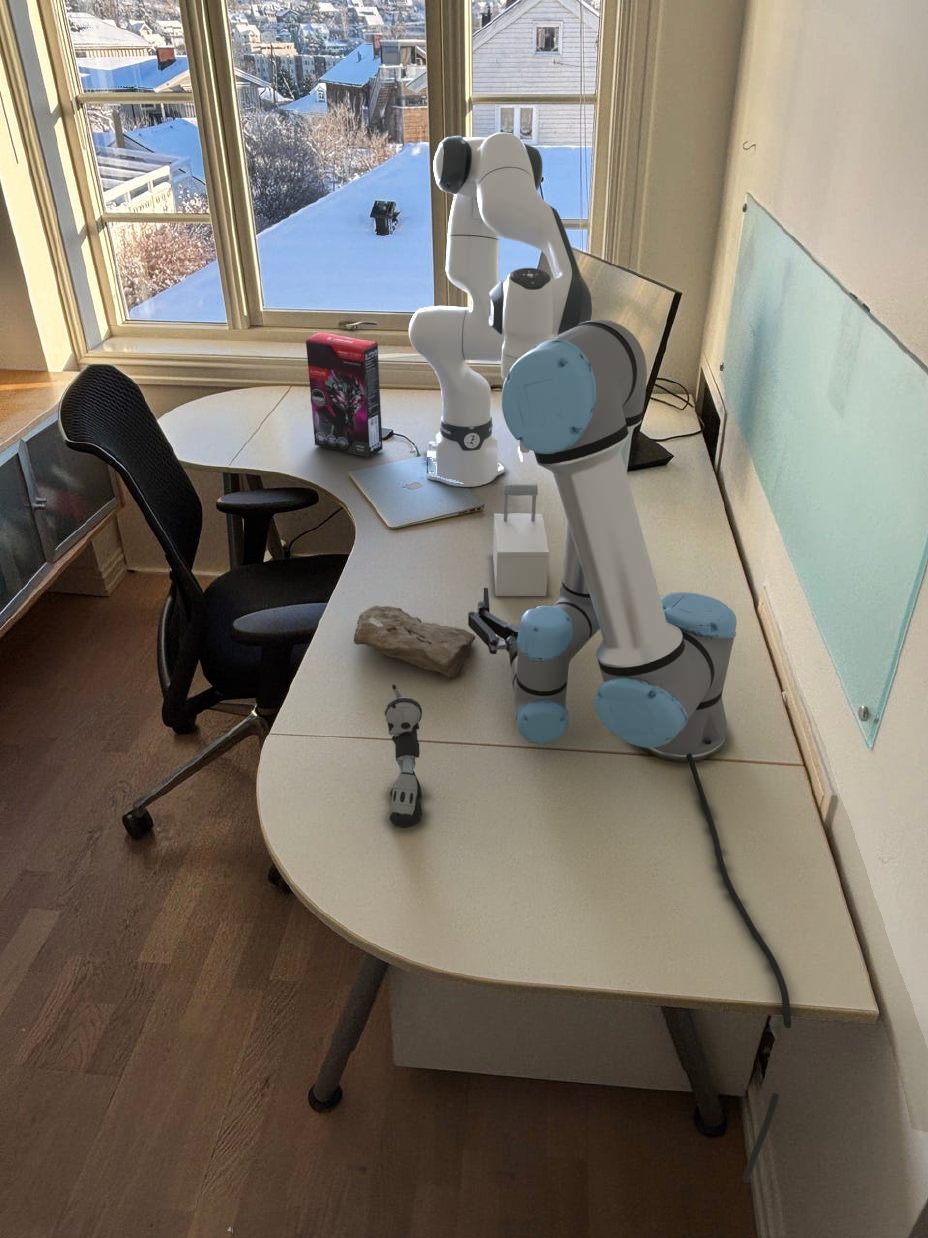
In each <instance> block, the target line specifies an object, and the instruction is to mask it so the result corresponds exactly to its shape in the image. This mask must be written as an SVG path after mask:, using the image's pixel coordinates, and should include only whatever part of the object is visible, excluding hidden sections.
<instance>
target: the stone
mask: <svg viewBox="0 0 928 1238" xmlns="http://www.w3.org/2000/svg"><path fill="white" fill-rule="evenodd" d="M356 624H357V626H356V629H355V633H354V635H353V642H354V644H355V645H357V646H358V645H365V646H369V647H370V648H371V649H372V650H373V652H376V653H377V654H382V655H386V656H387V657H391V658H394V659H399V660H401V661H404V662H406V663H410V664H411V665H414V666H417V667H419V668H420V669H423V670H425V671H433V672H438V673H440V674H442V675H443V677H446V678H447V677H448V678H449V679H450V678H454V677H457V675H458V674H459V673H460V671H461V669H462V667H463V662H464V658H466V656H467V654H468V652H469V650H470V649H471V647H472V644H473V642H474V641H476V638H477V637H476V636H475V634H473V633H472V632H470V631H467V629H464V628H460V627H454V626H448V625H447V626H446V625H441V624H438V623H435V622H433V623H431V622H424V621H422V620H421V619H420V618H419V617H417V616H415V617H414V616H412V615H411V614H409V613H408V612H405V611H404V610H403V609H402V608H401V607H396V606H391V605H385V606H382V605H381V606H380V605H374V606H372V607H369V608H368V609H366V610H364V611H363V612H361V613H360V614H359V616H358V619H357V623H356Z"/></svg>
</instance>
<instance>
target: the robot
mask: <svg viewBox="0 0 928 1238" xmlns="http://www.w3.org/2000/svg"><path fill="white" fill-rule="evenodd" d="M391 688H392V690H393V692H394V695H395V697H396V698H395V699H393V700H392V701H390V702H389V703H388V704H387V705H386V707H385V710H384V711H383V712H384V714H383V715H384V716H385V718H384V719H385V721H386V723H387V728H388V735H389V736H392V737H391V740H392V741H393V744H394V745H395V746H394V751H395V752H394V754H395V755H394V757H395V762H396V763H397V765H398V767H399V770H400V771H399V772H400V773H398V776H397V777H396V779H395V781H394V783H393V787H392V788H391V790H390V793H389V794H390V797H391V802H390V805H391V814H390V816H389V821H390V822H392V823H393V825H394V826H396V827H400V828H408V827H411V826H413V825H416V824H418V823H420V822H421V819H422V816H423V812H422V811H423V810H422V805H421V801H420V799H421V798H422V797H423V794H422V787H421V784H420V781H419V778H418V777H417V774H416V773H415V771H414V769H415V767H416V758H419V759H420V755H421V754H420V742H419V739H418V731H419V729H420V723H419V722H421V720H422V717H423V708H422V706H421V704H420V703H419V702H418V701H417V700H415V699H414V698H411V697H409V696H403V695H402V694H401V692H400V691H399V688H398V687H397V686H396V684H392V685H391Z"/></svg>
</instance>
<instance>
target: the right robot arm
mask: <svg viewBox="0 0 928 1238" xmlns="http://www.w3.org/2000/svg"><path fill="white" fill-rule="evenodd" d="M647 378H648V367H647V361H646V356H645V352H644V349H643V348H642V345H641V343H640V341H639V339H637V337H636V336H635V335H634V334H633V333H632V332H631V331H630V330H629V329H627V328H626V327H625V326H624V325H622V324H620V323H619V322H615V321H612V320H609V319H599V318H598V319H591V320H589V321H585V322H582V323H579V324H578V325H576V326H574V327H572V328H571V329H569V330H568V331H566V332H564V333H562V334H559V335H556V336H555V335H554V336H553V337H551V338H550V339H549V340H547V341H545V342H543V343H541V344H538V345H536V346H534V347H533V348H532V349H530V350H529V351H528V352H527V353H526V354H525V355H523V356H522V357H521V358H519V359H518V360H517V361H516V362H515V363H514V365H513V366H512V367H511V369H510V371H509V372H508V375H507V377H506V379H505V380H503V385H502V391H501V410H502V415H503V418H504V419H503V420H504V421H505V424H506V426H507V429H508V430H509V432H510V433H511V435H512V436H513V437H514V438H515V440H516V441H519V442H520V441H522V442H523V446H525V447H526V448H527V449H529V450H530V451H532V452H533V454H534V458H535V460H536V464H537V465H538V466H540V467H542V468H543V469H545V470H547V471H550V472H551V473H552V474H553V477H554V481H555V483H556V488H557V490H558V494H559V498H560V501H561V504H562V507H563V510H564V514H565V518H566V520H567V523H566V524H567V525H566V535H565V545H564V546H565V547H564V557H563V565H562V566H563V568H562V579H561V586H560V589H559V598H558V599H557V601H556V602H555V603H554V604H553V605H539V606H536V608H530V609H528V610H526V611H525V612H524V613H523V614H522V615H521V618H520V621H519V627H518V626H517V625H515V624H513V623H507V622H506V621H504V620H502V619H501V618H499V617H497V616H496V615H494V614H493V613H491V612H490V610H491V609H490V596H489V587H483V597H482V600H483V601H482V600H481V601H478V602H477V611H476V612H475V611H472V610H469V611H468V612H467V626H468V628H470V629H471V630H472V632H474V633H475V635H477V637H478V638H479V639H480V640H481V641H482V642H483V643H484V644H485V645H486V646H487V649H488V652H489V654H491V655H496V654H497V653H498V651H501V650H506V652H507V653H508V655H509V663H510V664H509V666H510V674H511V683H512V689H513V696H514V708H515V709H514V710H515V716H514V717H515V721H516V724H517V728H518V732H519V734H520V735H521V736H522V737H523V738H524V740H526V741H528V742H530V743H533V744H537V745H538V744H540V745H543V744H551V743H553V742H556V741H558V740H559V739H561V738H562V737H563V736H564V735H565V734H566V732H567V731H568V727H569V716H568V715H569V710H568V708H567V691H568V690H567V689H568V680H569V669H570V664H571V660H572V659H573V658H574V657H575V656H576V655H577V654H578V653H579V652H580V651H581V650H582V648H583V647H585V645H586V644H587V643H588V642H589V641H590V640H591V639H592V638H593V637H594V635H596V634H597V632H598V631H600V633H601V637H602V641H601V642H600V644H598V647H597V649H596V653H595V655H596V661H597V663H598V667H599V669H600V673H601V677H602V680H603V682H602V683H600V685H599V687H598V688H597V690H596V694H595V697H594V709H595V712H596V715H597V717H598V719H599V721H600V722H601V723H602V725H603V726H604V727H605V728H606V729H607V730H608V731H609V732H610V733H611V734H612V735H614V736H616V737H618V738H619V739H620V740H621V741H623V742H625V743H627V744H630V745H633V746H636V747H639V748H640V749H641V750H643V751H645V752H646V753H648V754H650V755H651V756H654V757H656V758H659V759H662V760H666V761H670V762H675V763H688V765H689V768H690V772H691V774H692V778H693V781H694V783H695V787H696V791H697V794H698V796H699V800H700V803H701V806H702V809H703V812H704V815H705V818H706V822H707V825H708V828H709V831H710V833H711V834H710V835H711V838H712V843H713V846H714V853H715V857H716V861H717V865H718V868H719V872H720V874H721V877H722V880H723V882H724V885H725V887H726V889H727V891H728V894H729V895H730V898H731V900H732V902H733V903H734V905H735V907H736V909H737V910H738V913H739V914H740V916H741V918H742V920H743V922H744V924H745V925H746V927H747V929H748V931H749V932H750V934H751V936H752V938H753V939H754V940H755V942H756V943H757V945H758V946H759V949H761V951H762V953H763V954H764V956H765V957H766V960H767V961H768V964H769V965H770V967H771V969H772V971H773V973H774V976H775V979H776V981H777V984H778V987H779V991H780V997H781V1005H782V1016H783V1017H782V1020H783V1026H784V1027H785V1028H786V1029H791V1027H792V1015H791V1014H792V1013H791V1002H790V996H789V991H788V987H787V984H786V981H785V978H784V976H783V973H782V971H781V968H780V965H779V963H778V961H777V960H776V958H775V956H774V954H773V953H772V951H771V949H770V948H769V946H768V945H767V943H766V942H765V940H764V939H763V937H762V935H761V934H760V932H759V931H758V929H757V927H756V926H755V925H754V922H753V921H752V919H751V917H750V915H749V914H748V912H747V909H746V908H745V907H744V905H743V903H742V900H741V899H740V897H739V896H738V894H737V891H736V890H735V888H734V885H733V883H732V880H731V879H730V876H729V874H728V870H727V868H726V864H725V860H724V857H723V853H722V852H723V851H722V847H721V843H720V838H719V835H718V831H717V828H716V824H715V822H714V818H713V815H712V812H711V810H710V806H709V804H708V800H707V797H706V794H705V791H704V787H703V785H702V782H701V779H700V775H699V772H698V769H697V766H696V763H695V762H700V761H703V760H706V759H709V758H711V757H714V755H716V754H718V752H720V751H721V750H722V748H723V747H724V744H725V743H726V740H727V739H726V738H727V733H728V721H727V716H726V712H725V708H724V707H725V706H724V701H723V692H724V686H725V682H726V678H727V674H728V673H727V672H728V668H729V664H730V659H731V654H732V651H733V650H732V649H733V645H734V639H735V637H736V636H737V631H736V630H737V623H738V622H737V621H738V620H737V616H736V613H735V612H734V611H733V609H731V608H730V607H729V606H728V605H727V604H726V603H724V602H723V601H721V600H719V599H717V598H714V597H712V596H708V595H705V594H701V593H695V592H686V591H685V592H683V591H682V592H672V593H671V592H670V593H668V594H665V595H663V596H660V592H659V589H658V584H657V581H656V578H655V574H654V570H653V566H652V563H651V559H650V556H649V551H648V548H647V544H646V541H645V537H644V532H643V530H642V526H641V522H640V518H639V515H638V512H637V507H636V504H635V500H634V495H633V492H632V489H631V485H630V482H629V477H628V466H629V460H630V453H631V444H632V438H633V437H632V436H633V430H634V429H635V428H636V427H637V426H639V425H640V424H641V423H642V420H643V413H644V407H645V400H646V389H647ZM779 1098H780V1094H778V1093H775V1092H772V1093H771V1098H770V1101H769V1104H768V1107H767V1110H766V1113H765V1115H764V1116H765V1117H764V1120H763V1122H762V1125H761V1127H760V1130H759V1133H758V1135H757V1137H756V1141H755V1143H754V1145H753V1148H752V1150H751V1153H750V1156H749V1158H748V1161H747V1164H746V1167H745V1171H744V1173H743V1177H742V1182H743V1183H745V1184H748V1183H750V1180H751V1176H752V1175H753V1174H752V1173H753V1172H754V1171H753V1170H754V1168H755V1165H756V1162H757V1160H758V1157H759V1155H760V1152H761V1150H762V1147H763V1145H764V1142H765V1140H766V1137H767V1135H768V1132H769V1130H770V1127H771V1124H772V1121H773V1118H774V1115H775V1113H776V1109H777V1106H778V1103H779Z"/></svg>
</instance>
